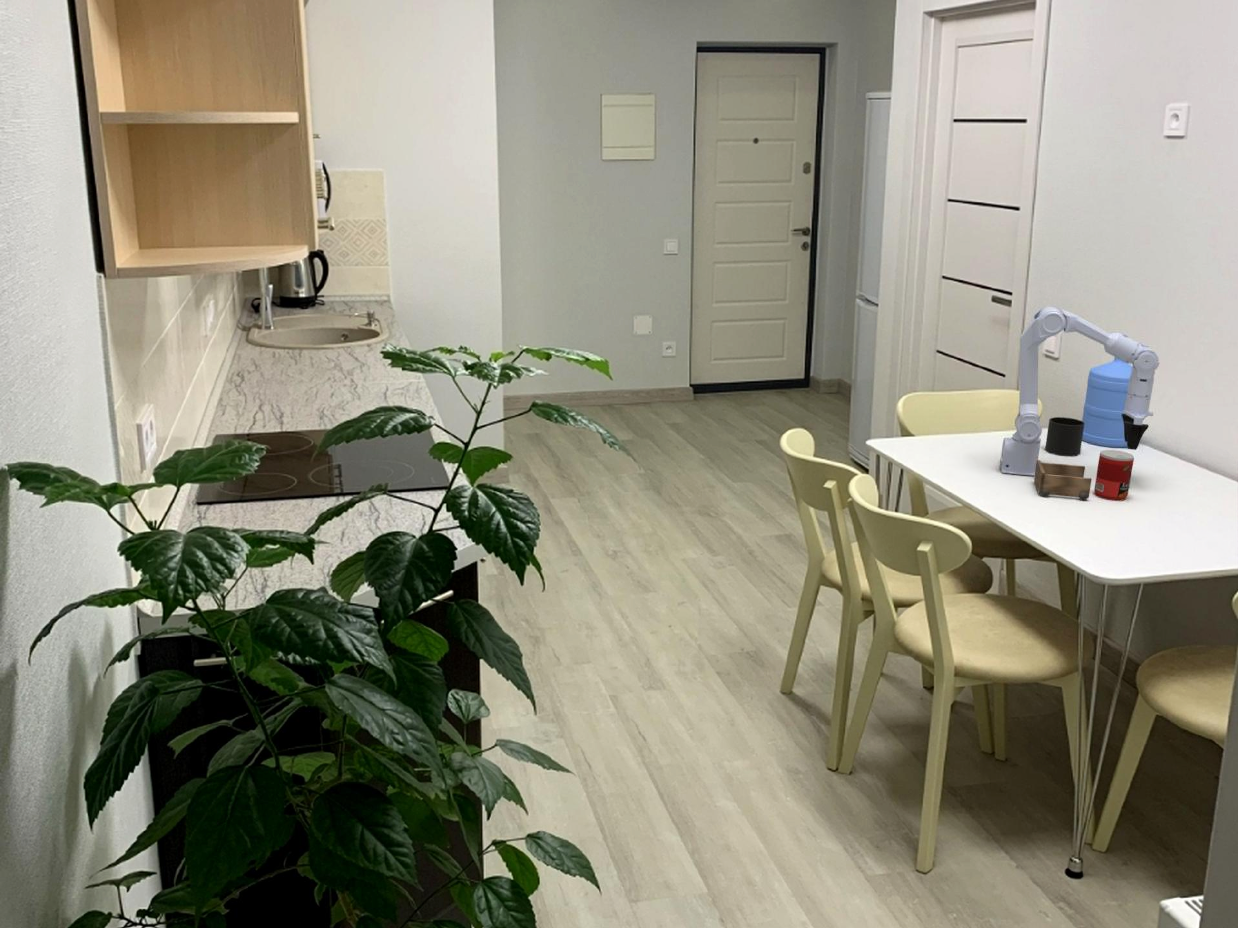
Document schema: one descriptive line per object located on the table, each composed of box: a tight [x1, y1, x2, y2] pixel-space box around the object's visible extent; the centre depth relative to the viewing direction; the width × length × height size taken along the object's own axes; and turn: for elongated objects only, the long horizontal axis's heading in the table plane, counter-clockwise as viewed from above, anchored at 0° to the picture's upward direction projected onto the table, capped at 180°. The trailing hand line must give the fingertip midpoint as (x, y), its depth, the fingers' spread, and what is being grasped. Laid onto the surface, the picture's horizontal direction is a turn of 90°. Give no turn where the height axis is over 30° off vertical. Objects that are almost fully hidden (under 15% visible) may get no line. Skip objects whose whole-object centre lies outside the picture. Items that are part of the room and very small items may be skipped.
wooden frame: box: [1033, 459, 1092, 502], centre depth 302 cm, size 12×13×6 cm
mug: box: [1044, 416, 1084, 457], centre depth 339 cm, size 9×12×9 cm
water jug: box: [1081, 357, 1133, 449], centre depth 348 cm, size 16×16×28 cm
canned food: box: [1094, 449, 1135, 501], centre depth 299 cm, size 8×8×11 cm
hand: (1130, 445), depth 309 cm, fingers open, 7 cm apart
